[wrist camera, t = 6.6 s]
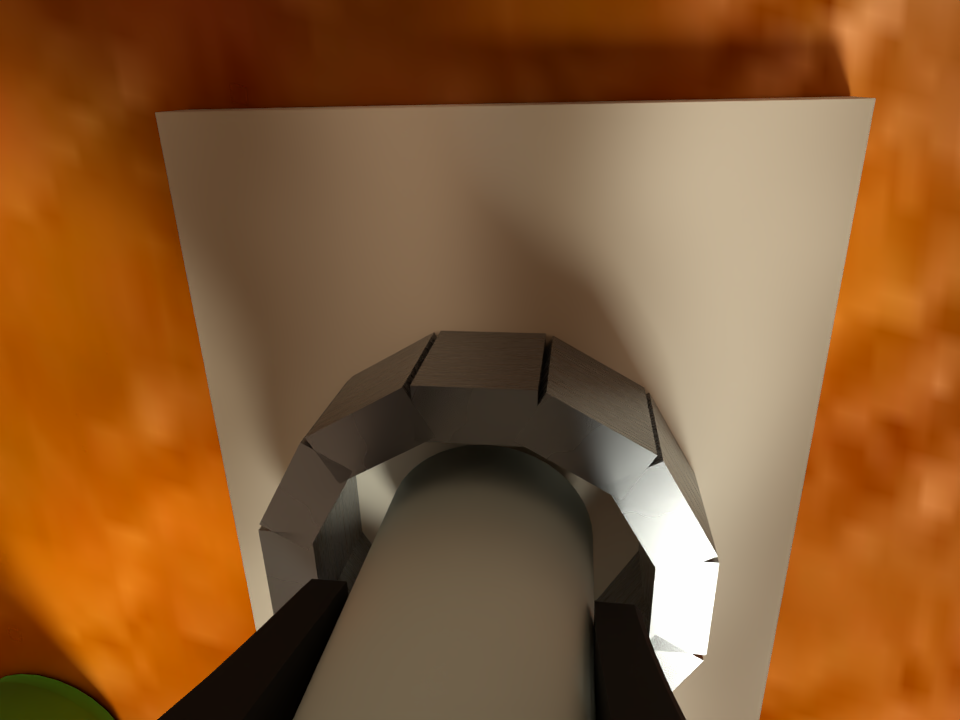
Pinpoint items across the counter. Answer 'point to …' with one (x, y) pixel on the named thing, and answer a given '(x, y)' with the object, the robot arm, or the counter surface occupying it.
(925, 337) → the counter surface
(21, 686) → the cup
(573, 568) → the gray peg
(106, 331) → the counter surface
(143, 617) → the counter surface
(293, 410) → the peg holder
